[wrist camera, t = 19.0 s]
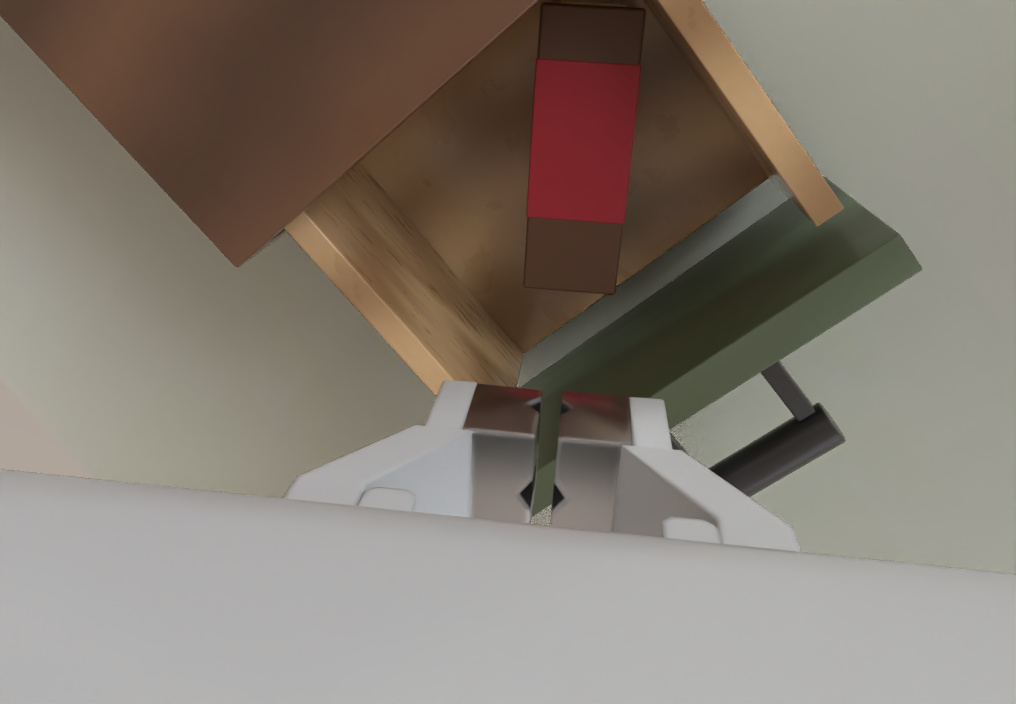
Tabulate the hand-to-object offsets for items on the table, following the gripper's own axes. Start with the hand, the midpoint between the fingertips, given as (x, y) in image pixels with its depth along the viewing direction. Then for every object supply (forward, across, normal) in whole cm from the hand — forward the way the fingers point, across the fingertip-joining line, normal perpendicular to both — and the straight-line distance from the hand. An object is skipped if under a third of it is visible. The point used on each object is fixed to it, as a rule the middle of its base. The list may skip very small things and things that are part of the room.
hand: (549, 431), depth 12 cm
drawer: (+18, -1, +1) cm, 18 cm away
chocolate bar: (+15, 0, +2) cm, 15 cm away
